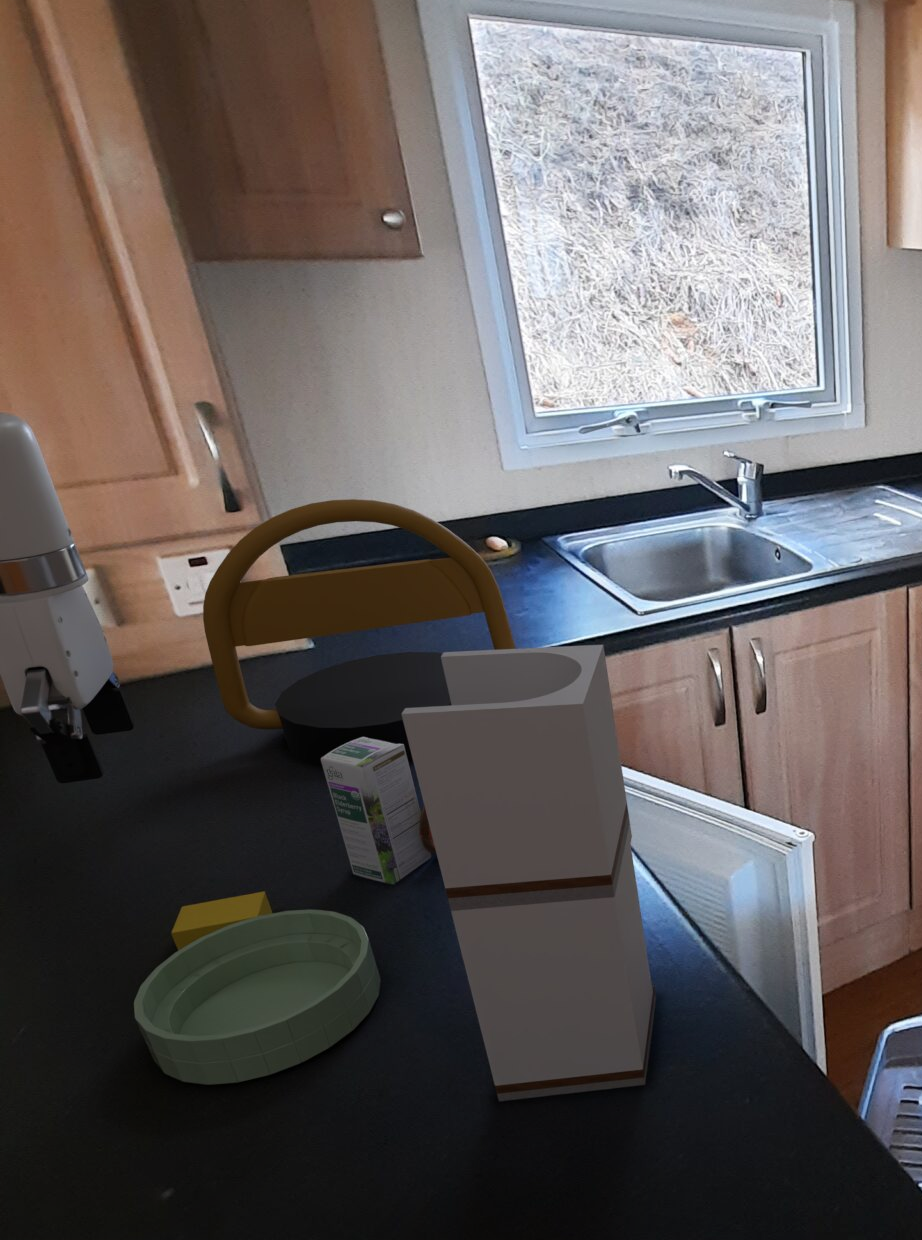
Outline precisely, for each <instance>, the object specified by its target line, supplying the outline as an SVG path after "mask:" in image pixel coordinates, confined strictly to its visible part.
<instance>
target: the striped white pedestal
mask: <svg viewBox="0 0 922 1240" xmlns="http://www.w3.org/2000/svg"><path fill="white" fill-rule="evenodd" d="M442 653H443V654H442V656H441V660H442V664H443V669H444V673H445V678H446V682H447V687H448V691H449V695H450V700H451V704H452V706H435V707H417V708H405V709H404V711H403V712H402V718H403V722H404V726H405V730H406V734H407V738H408V742H409V746H410V750H411V754H412V758H413V760H412V762H413V766H414V769H415V773H416V779H417V782H418V786H419V790H420V793H421V798H422V801H423V806H425V810H426V814H427V818H428V822H429V826H430V830H431V834H432V838H433V842H434V846H435V850H436V854H435V855H436V858H437V861H438V865H439V869H440V873H441V877H442V881H443V885H444V889H445V894H446V897H447V901H448V905H449V909H450V912H451V917H452V921H453V925H454V929H455V932H456V937H457V941H458V944H459V948H460V952H461V956H462V961H463V964H464V969H465V972H466V976H467V980H468V985H469V988H470V992H471V997H472V1001H473V1005H474V1008H475V1012H476V1016H477V1019H478V1024H479V1028H480V1032H481V1036H482V1040H483V1044H484V1048H485V1051H486V1056H487V1059H488V1064H489V1068H490V1072H491V1076H492V1080H493V1084H494V1087H495V1091H496V1095H497V1099H498V1100H497V1101H498V1102H505V1101H506V1102H507V1101H514V1100H524V1099H532V1098H540V1097H548V1096H558V1095H568V1094H576V1093H584V1092H592V1091H601V1090H612V1089H620V1088H629V1087H636V1086H645V1085H646V1083H647V1082H646V1081H647V1074H648V1073H647V1072H648V1065H649V1058H650V1049H651V1041H652V1035H653V1033H652V1032H653V1026H654V1020H655V1019H654V1017H655V1010H656V1001H657V995H656V989H655V988H656V987H655V983H652V978H651V972H650V965H649V964H650V963H649V958H648V951H647V944H646V939H645V938H646V937H645V930H644V924H643V917H642V911H641V904H640V897H639V891H638V885H637V878H636V872H635V871H636V870H635V865H634V857H633V852H632V845H631V843H632V839H633V834H632V833H633V832H632V827H631V821H630V820H631V819H630V815H629V807H628V801H627V795H626V794H627V793H626V787H625V780H624V773H623V767H622V762H621V761H622V760H621V752H620V748H619V741H618V733H617V725H616V720H615V713H614V706H613V700H612V693H611V687H610V681H609V673H608V666H607V660H606V653H605V647H604V644H590V645H589V644H587V645H571V646H570V645H569V646H567V645H565V646H547V647H545V646H544V647H526V648H525V647H524V648H516V649H501V650H494V649H483V650H465V651H464V650H462V651H444V652H442Z"/></svg>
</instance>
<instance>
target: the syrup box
mask: <svg viewBox="0 0 922 1240" xmlns="http://www.w3.org/2000/svg"><path fill="white" fill-rule="evenodd" d="M321 763H322V766H323V767H322V770H323V773H324V776H325V781H326V784H327V788H328V790H329V794H330V797H331V800H332V804H333V808H334V811H335V814H336V815H335V816H336V818H337V822H338V825H339V829H340V832H341V836H342V840H343V843H344V846H345V850H346V853H347V857H348V860H349V865H350V868H351V871H352V874H353V875H355V876H358V877H361V878H365V879H368V880H372V881H375V882H376V881H377V882H380V883H385V884H389V885H395V884H396V883H398V882H399V881H401V880H402V879H403V878H405V877H406V876H407V875H409V874H411V873H412V872H413V871H415V870H416V869H417V868H419V867H420V866H421V865H423V864H424V863H426V862H427V861H429V860H431V858H432V853H430V852H429V851H427V850H426V849H425V847H424V846H423V844H422V841H421V838H420V829H419V825H420V816H421V812H422V811H421V808H420V805H419V801H418V796H417V793H416V789H415V784H414V780H413V775H412V772H411V768H410V763H409V761H408V759H407V755H406V751H405V747H404V744H394V743H390V742H386V741H381V740H376V739H371V738H367V737H361V738H358V739H355V740H353V741H350V742H348V743H346V744H344V745H341V746H340V747H338V748H336V749H334V750H332V751H331V752H329V753H328V754H326V755H325V756H323V757H322V758H321Z"/></svg>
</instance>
